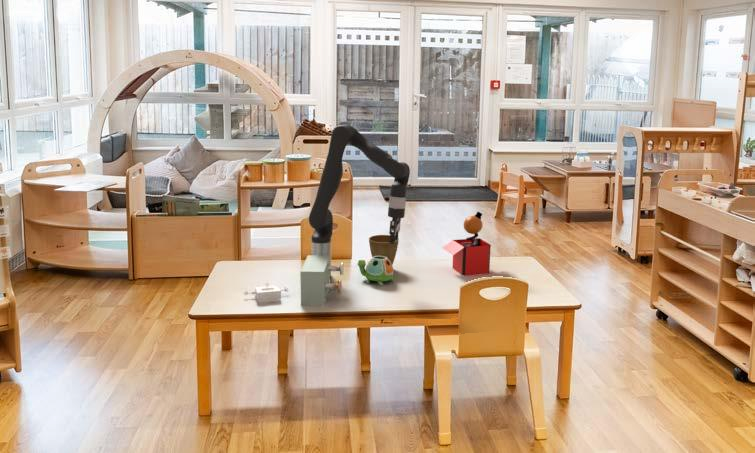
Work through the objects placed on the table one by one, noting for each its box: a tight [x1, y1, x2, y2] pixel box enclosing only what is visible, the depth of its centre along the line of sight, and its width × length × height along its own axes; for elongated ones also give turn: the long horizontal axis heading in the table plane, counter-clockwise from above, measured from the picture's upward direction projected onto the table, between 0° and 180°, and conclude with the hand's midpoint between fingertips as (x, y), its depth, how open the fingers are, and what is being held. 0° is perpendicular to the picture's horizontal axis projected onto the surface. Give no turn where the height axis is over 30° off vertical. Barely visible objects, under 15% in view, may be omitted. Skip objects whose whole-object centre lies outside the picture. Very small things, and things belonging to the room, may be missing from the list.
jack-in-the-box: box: [442, 211, 493, 277], centre depth 379 cm, size 26×16×30 cm, turn 106°
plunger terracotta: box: [325, 279, 343, 294], centre depth 334 cm, size 13×6×6 cm, turn 88°
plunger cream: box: [328, 261, 345, 276], centre depth 345 cm, size 13×6×6 cm, turn 88°
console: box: [300, 254, 331, 306], centre depth 340 cm, size 10×26×15 cm, turn 178°
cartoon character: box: [243, 282, 288, 303], centre depth 339 cm, size 8×20×16 cm
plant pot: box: [368, 234, 400, 266], centre depth 381 cm, size 15×15×16 cm
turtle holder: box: [356, 256, 394, 286], centre depth 363 cm, size 12×18×12 cm
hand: (393, 241), depth 348 cm, fingers open, 8 cm apart
